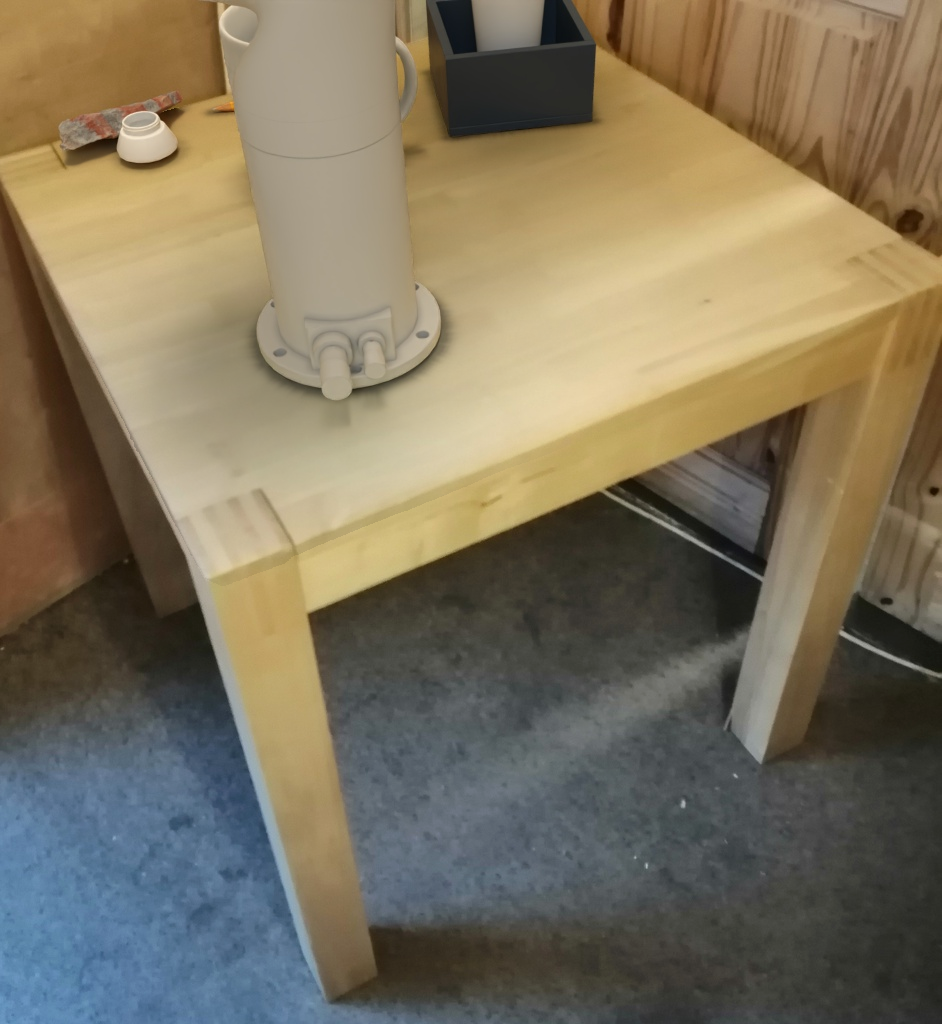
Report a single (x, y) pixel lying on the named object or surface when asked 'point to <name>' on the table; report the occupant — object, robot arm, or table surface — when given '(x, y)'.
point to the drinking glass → (507, 23)
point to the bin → (510, 72)
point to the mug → (241, 29)
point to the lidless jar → (145, 138)
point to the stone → (109, 121)
